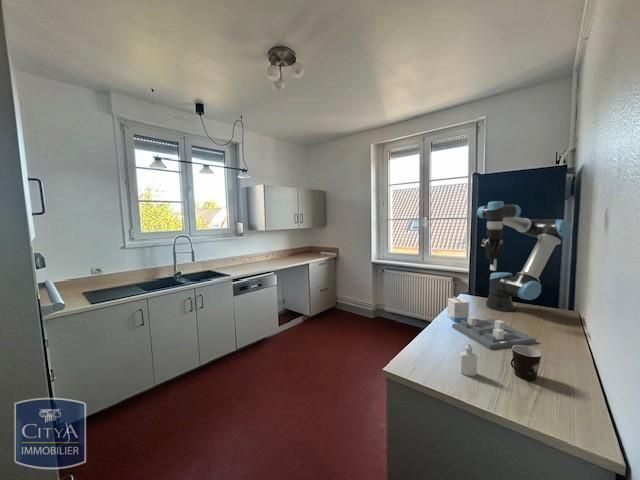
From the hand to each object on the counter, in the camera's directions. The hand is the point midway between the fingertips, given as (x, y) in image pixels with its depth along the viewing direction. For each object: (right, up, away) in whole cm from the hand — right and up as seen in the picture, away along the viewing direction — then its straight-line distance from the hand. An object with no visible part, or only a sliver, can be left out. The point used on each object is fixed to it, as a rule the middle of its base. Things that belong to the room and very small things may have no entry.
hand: (493, 270), depth 148 cm
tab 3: (-14, -29, -25) cm, 41 cm away
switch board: (-12, -31, -16) cm, 37 cm away
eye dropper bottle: (-42, -35, -48) cm, 72 cm away
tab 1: (-18, -28, -9) cm, 35 cm away
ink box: (-18, -30, +4) cm, 35 cm away
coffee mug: (-23, -35, -50) cm, 65 cm away
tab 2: (-7, -28, -15) cm, 33 cm away
